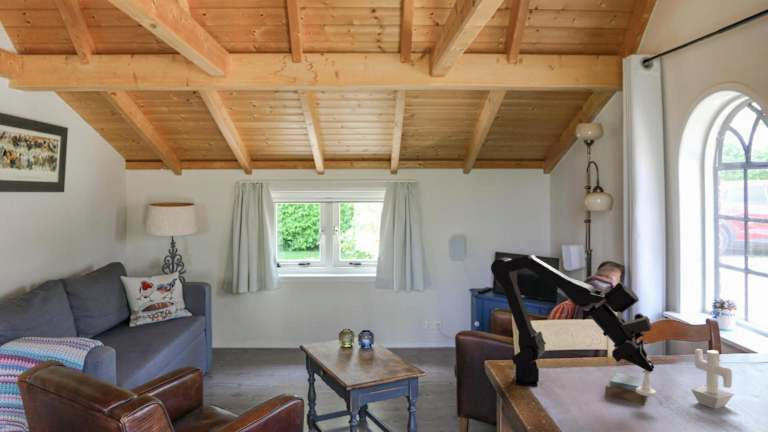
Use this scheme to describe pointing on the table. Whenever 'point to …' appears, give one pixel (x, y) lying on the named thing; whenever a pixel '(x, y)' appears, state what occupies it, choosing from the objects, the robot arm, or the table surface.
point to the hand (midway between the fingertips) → (652, 369)
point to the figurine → (712, 380)
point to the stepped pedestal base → (625, 388)
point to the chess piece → (646, 384)
